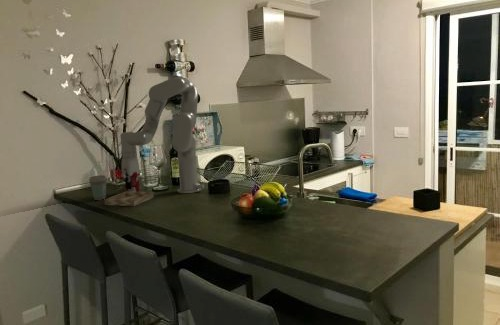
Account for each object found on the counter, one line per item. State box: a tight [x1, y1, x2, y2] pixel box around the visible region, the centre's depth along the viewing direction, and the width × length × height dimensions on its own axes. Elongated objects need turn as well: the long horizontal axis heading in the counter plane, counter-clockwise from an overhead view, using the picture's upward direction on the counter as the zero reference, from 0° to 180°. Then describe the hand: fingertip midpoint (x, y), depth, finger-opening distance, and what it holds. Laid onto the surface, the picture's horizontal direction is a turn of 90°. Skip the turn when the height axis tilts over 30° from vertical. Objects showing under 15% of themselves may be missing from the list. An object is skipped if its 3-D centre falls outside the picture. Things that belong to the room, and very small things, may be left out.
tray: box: [103, 191, 155, 207], centre depth 208 cm, size 17×17×3 cm
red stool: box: [126, 171, 141, 192], centre depth 226 cm, size 7×7×12 cm
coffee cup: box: [88, 174, 107, 201], centre depth 216 cm, size 8×8×12 cm
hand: (132, 187), depth 227 cm, fingers closed on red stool, 6 cm apart
